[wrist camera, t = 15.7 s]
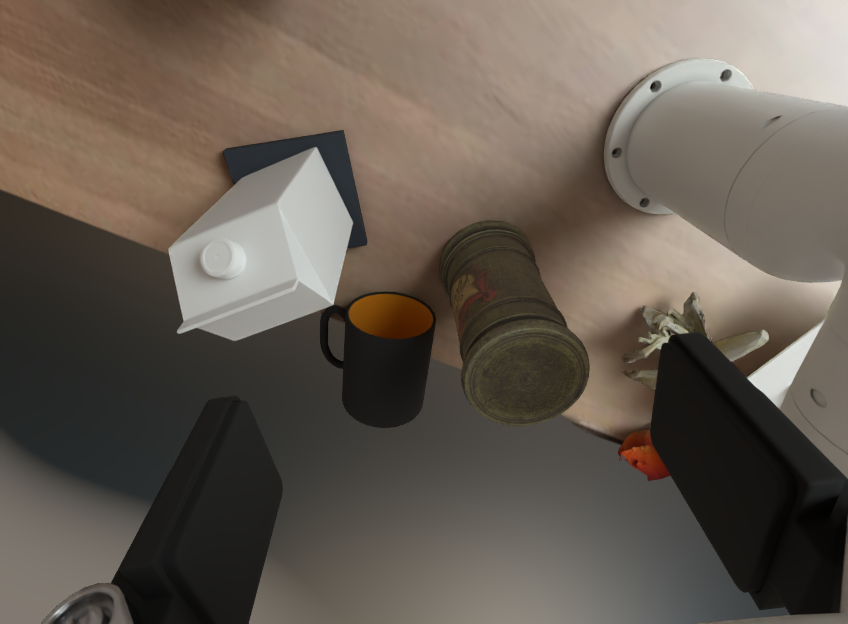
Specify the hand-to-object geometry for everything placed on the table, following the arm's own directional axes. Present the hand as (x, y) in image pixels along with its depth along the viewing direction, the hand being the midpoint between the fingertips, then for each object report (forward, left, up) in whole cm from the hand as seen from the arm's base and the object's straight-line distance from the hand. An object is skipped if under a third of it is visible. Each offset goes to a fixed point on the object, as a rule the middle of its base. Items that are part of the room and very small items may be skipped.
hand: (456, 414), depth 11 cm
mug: (+9, +24, -31) cm, 40 cm away
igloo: (-38, +29, -31) cm, 57 cm away
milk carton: (+11, +4, -33) cm, 35 cm away
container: (-5, +13, -34) cm, 37 cm away
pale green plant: (-25, +25, -34) cm, 49 cm away
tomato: (-22, +38, -27) cm, 51 cm away
